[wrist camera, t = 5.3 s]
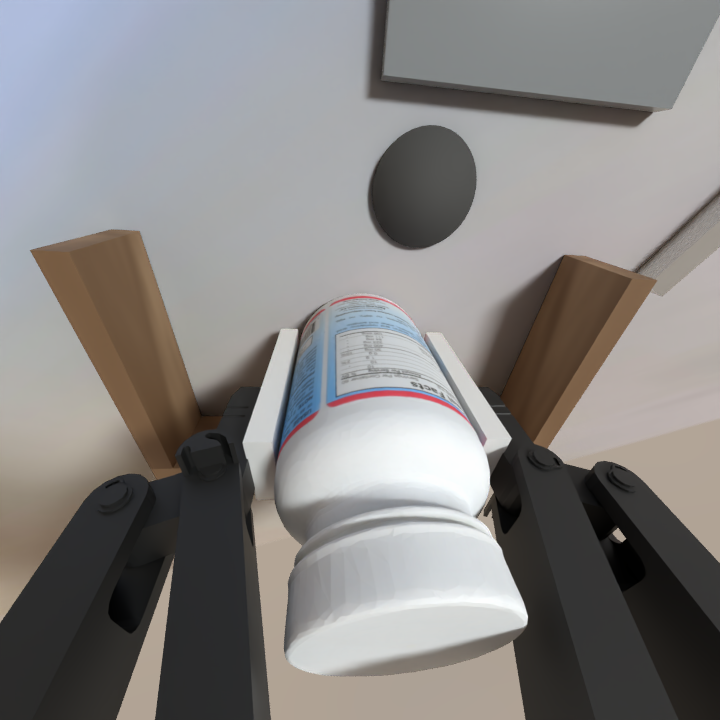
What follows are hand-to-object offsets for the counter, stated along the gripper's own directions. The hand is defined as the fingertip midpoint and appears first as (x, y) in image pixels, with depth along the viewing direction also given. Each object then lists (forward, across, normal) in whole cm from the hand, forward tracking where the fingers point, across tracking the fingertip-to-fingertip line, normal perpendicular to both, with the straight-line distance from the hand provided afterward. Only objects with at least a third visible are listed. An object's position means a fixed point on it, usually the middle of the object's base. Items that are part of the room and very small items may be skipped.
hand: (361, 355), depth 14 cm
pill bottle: (+1, 0, 0) cm, 1 cm away
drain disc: (+1, +2, +7) cm, 7 cm away
